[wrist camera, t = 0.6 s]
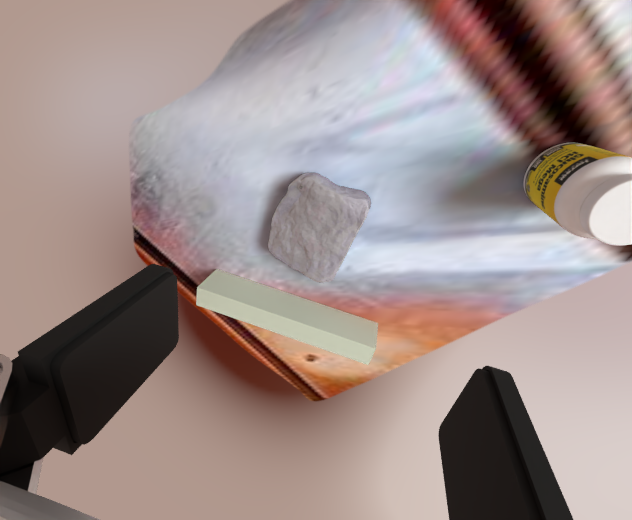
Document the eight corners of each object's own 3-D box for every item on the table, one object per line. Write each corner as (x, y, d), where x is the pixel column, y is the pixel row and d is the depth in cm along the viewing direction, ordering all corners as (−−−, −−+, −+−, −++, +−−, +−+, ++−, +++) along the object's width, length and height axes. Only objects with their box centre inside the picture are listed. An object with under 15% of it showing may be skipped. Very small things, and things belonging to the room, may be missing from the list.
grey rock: (275, 242, 43) (338, 279, 41) (256, 252, 38) (325, 294, 37) (306, 158, 37) (380, 197, 35) (287, 161, 33) (370, 204, 31)
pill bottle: (545, 132, 29) (619, 151, 19) (614, 153, 28) (725, 182, 19) (507, 196, 32) (554, 238, 22) (569, 215, 31) (644, 267, 22)
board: (216, 268, 45) (197, 287, 40) (378, 323, 42) (375, 348, 38) (215, 285, 46) (196, 305, 42) (371, 338, 44) (368, 365, 40)
